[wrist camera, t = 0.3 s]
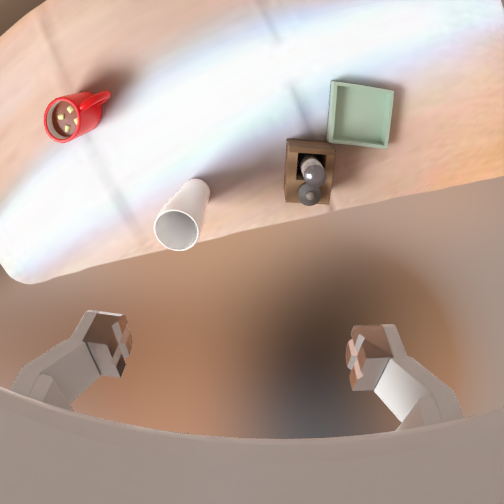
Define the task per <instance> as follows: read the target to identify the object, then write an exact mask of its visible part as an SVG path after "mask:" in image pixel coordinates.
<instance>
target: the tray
mask: <svg viewBox="0 0 504 504" xmlns="http://www.w3.org/2000/svg"><path fill="white" fill-rule="evenodd" d="M393 99H394V91H392V90H387V89H382V88H376V87H370V86H364V85H358V84H351V83H344V82H336V81H331V84H330V99H329V112H328V124H327V136H326V140H327V141H328V142H329V143H337V144H347V145H356V146H364V147H372V148H380V149H387V147H388V140H389V133H390V125H391V117H392V108H393Z"/></svg>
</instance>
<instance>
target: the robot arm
mask: <svg viewBox="0 0 504 504" xmlns="http://www.w3.org/2000/svg"><path fill="white" fill-rule="evenodd" d="M127 323H128V322H127V319H126V316H125V315H123V314H116V313H109V312H102V311H100V312H99V311H93V310H88V311H86V312H85V314H84V316H83V317H82V319H81V321H80V322H79V324H78V326H77V328H76V329H75V331H74V333H73V335H72V336H71V338H70V339H66V340H64V341H62V342H61V343H59V344H58V345H56V346H55V347H53V348H52V349H50V350H48V351H47V352H45V353H44V354H42V355H40V356H39V357H37V358H36V359H34V360H33V361H31V362H29V363H28V364H26V365H25V366H23V367H22V369H21V371H20V373H19V374H18V376H17V378H16V380H15V382H14V383H13V385H12V387H11V389H10V390H7V389H5V388H2V387H0V504H504V406H503V407H500V408H497V409H493V410H490V411H487V412H483V413H479V414H476V415H472V416H468V417H464V416H463V413H462V411H461V408H460V405H459V403H458V400H457V397H456V395H455V392H454V391H453V390H452V389H451V388H449V387H448V386H447V385H446V384H444V383H443V382H442V381H441V380H439V379H438V378H437V377H436V376H434V375H433V374H432V373H431V372H430V371H428V370H427V369H426V368H424V367H423V366H422V365H421V364H420V363H418V362H417V361H416V360H415V359H413V358H412V357H407V354H406V352H405V349H404V347H403V344H402V341H401V339H400V336H399V334H398V331H397V329H396V327H395V325H394V324H387V325H360V326H359V325H355V326H354V327H353V329H352V332H351V334H352V339H351V340H350V341H349V342H348V345H347V348H346V362H347V367H348V368H349V369H350V370H352V371H351V373H350V376H349V377H350V382H351V386H352V390H353V391H361V390H374V391H375V393H376V394H377V395H378V396H379V397H380V398H381V400H382V401H383V402H384V403H385V404H386V405H387V406H388V407H389V408H390V410H391V411H392V412H393V413H394V414H395V415H396V417H397V418H398V419H399V420H400V421H401V422H402V423H401V424H400V426H399V427H398V428H397V429H396V431H392V432H385V433H377V434H369V435H359V436H347V437H336V438H316V439H249V438H231V437H217V436H206V435H195V434H187V433H179V432H171V431H164V430H158V429H151V428H146V427H140V426H134V425H130V424H124V423H120V422H115V421H110V420H106V419H101V418H97V417H93V416H89V415H85V414H82V413H78V412H75V411H74V409H73V408H72V406H71V405H70V403H72V402H73V401H74V400H75V399H76V398H77V397H78V396H79V395H80V394H82V393H83V392H84V391H85V390H86V389H87V388H88V387H89V386H90V385H91V384H92V383H94V382H95V381H96V380H97V379H98V378H99V377H100V376H101V375H105V376H111V377H118V378H121V376H122V373H123V371H124V368H125V365H126V363H125V361H124V359H125V358H126V357H128V356H129V355H130V352H131V349H132V335H131V332H130V330H129V329H128V328H127V327H126V325H127Z"/></svg>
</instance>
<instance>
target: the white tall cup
mask: <svg viewBox="0 0 504 504" xmlns="http://www.w3.org/2000/svg"><path fill="white" fill-rule="evenodd" d="M209 198H210V189H209V187H208V185H207V184H206V183H205V182H204V181H202V180H200V179H190V180H188V181H186V182H185V183H184V184H183V185H182V187H181V188H180V189H179V190H178V191H177V192H176V193H175V194H174V195H173V196H172V197H171V198H170V199H169V200H168V202H167V203H166V204H165V205H164V206H163V208H162V209H161V211H160V212H159V214H158V216H157V218H156V220H155V223H154V232H155V235H156V237H157V239H158V240H159V242H160V243H161V244H162V245H164V246H165V247H167V248H169V249H171V250H175V251H183V250H187V249H189V248H191V247H193V246H194V245H195V244H196V242H197V241H198V239H199V236H200V234H201V232H202V229H203V226H204V222H205V217H206V211H207V205H208V201H209Z"/></svg>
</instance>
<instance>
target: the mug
mask: <svg viewBox="0 0 504 504" xmlns="http://www.w3.org/2000/svg"><path fill="white" fill-rule="evenodd" d="M110 97H111V92H110V91H107V90H106V91H102V92H99V93H97V94H95V95H94V94H92V93H90V92H80V93H75V94H71V95H67V96H63V97H59V98H56V99H54V100H53V101H52V102H51V103H50V104H49V105H48V107H47V109H46V111H45V114H44V126H45V130H46V132H47V134H48V135H49V137H50V138H51V139H53V140H54V141H56V142H59V143H65V142H69V141H71V140H73V139H75V138H77V137H79V136H81V135H83V134H85V133H87V132H90V131H91V130H93V129H94V128H96V126H97V125H98V124H99V122H100V120H101V116H102V107H101V105H102V104H103V103H105V102H106V101H107V100H108V99H109V98H110Z"/></svg>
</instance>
